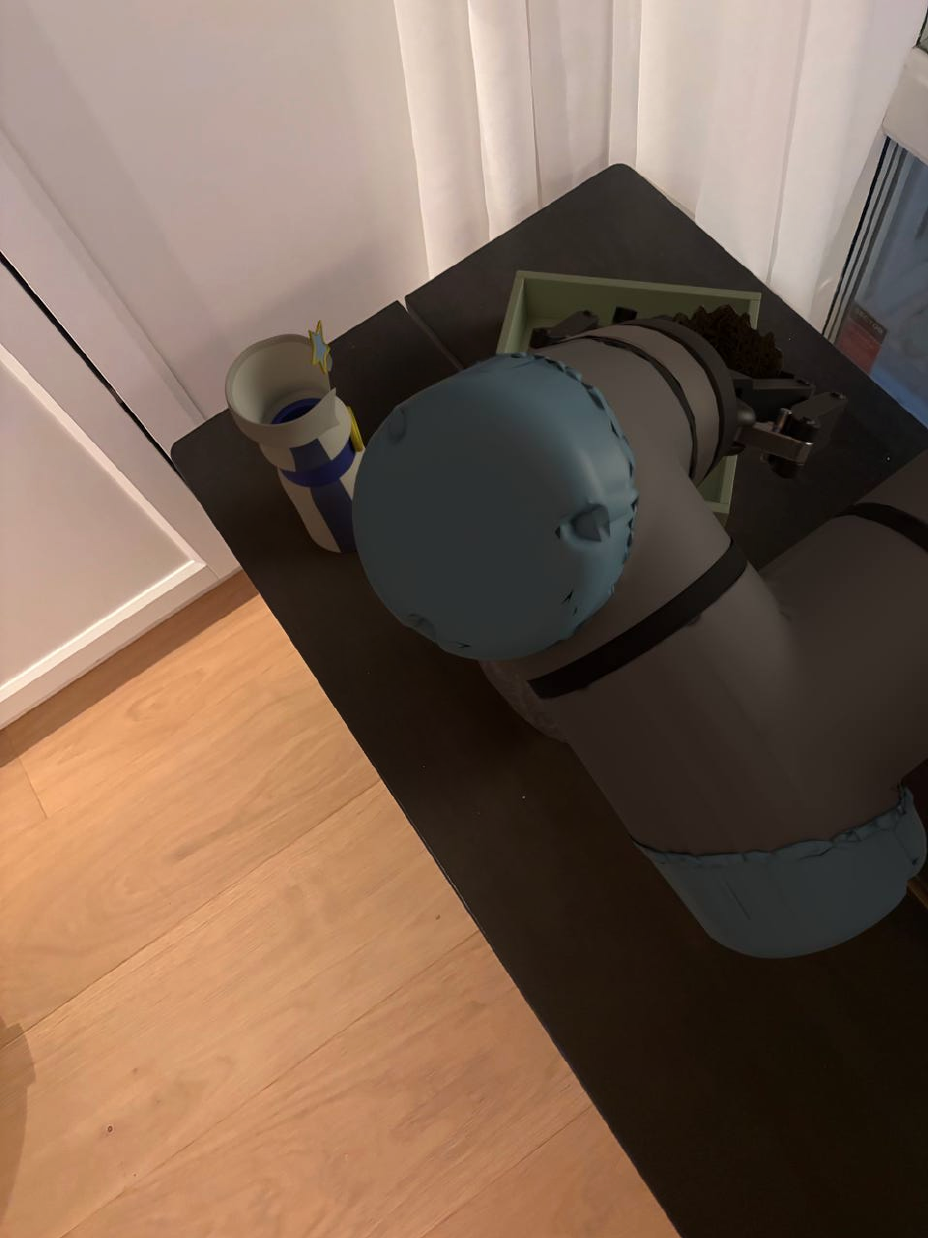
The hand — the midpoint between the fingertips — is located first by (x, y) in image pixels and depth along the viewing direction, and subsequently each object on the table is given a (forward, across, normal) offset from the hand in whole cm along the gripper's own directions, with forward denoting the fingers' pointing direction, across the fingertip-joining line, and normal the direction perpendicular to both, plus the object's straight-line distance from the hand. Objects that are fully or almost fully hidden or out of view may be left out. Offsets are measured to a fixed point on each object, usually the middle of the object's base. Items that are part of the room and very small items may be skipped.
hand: (725, 359), depth 55 cm
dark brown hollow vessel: (0, 0, -5) cm, 5 cm away
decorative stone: (+4, -5, -27) cm, 28 cm away
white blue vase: (+8, -27, -23) cm, 36 cm away
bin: (+20, -10, -11) cm, 25 cm away
